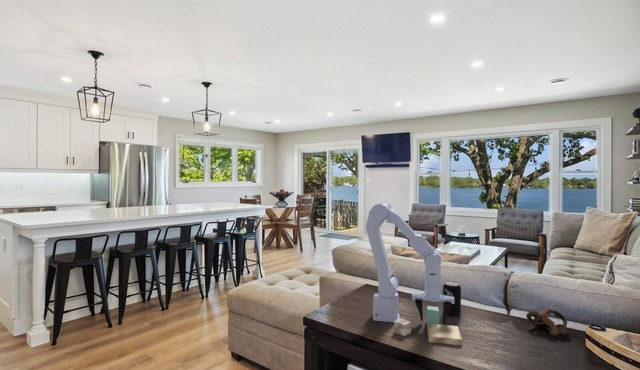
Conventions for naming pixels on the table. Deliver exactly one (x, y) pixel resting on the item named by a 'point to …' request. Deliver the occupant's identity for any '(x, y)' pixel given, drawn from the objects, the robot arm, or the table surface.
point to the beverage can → (454, 291)
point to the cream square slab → (444, 334)
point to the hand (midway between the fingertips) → (432, 320)
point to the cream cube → (402, 327)
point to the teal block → (432, 315)
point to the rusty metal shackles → (547, 320)
